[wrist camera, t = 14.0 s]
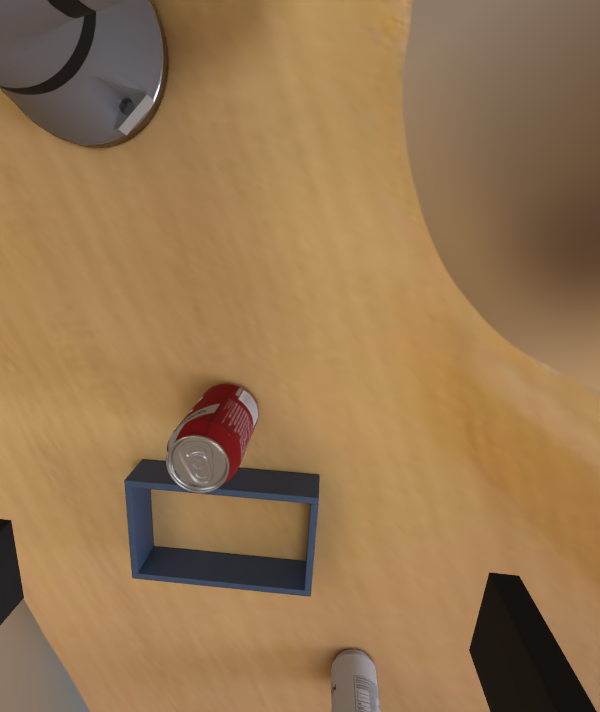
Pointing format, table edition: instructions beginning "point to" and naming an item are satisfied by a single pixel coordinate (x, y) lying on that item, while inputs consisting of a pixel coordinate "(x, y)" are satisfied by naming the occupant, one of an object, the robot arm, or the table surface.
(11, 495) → the table surface
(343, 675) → the energy drink can
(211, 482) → the soda can
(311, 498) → the open box
